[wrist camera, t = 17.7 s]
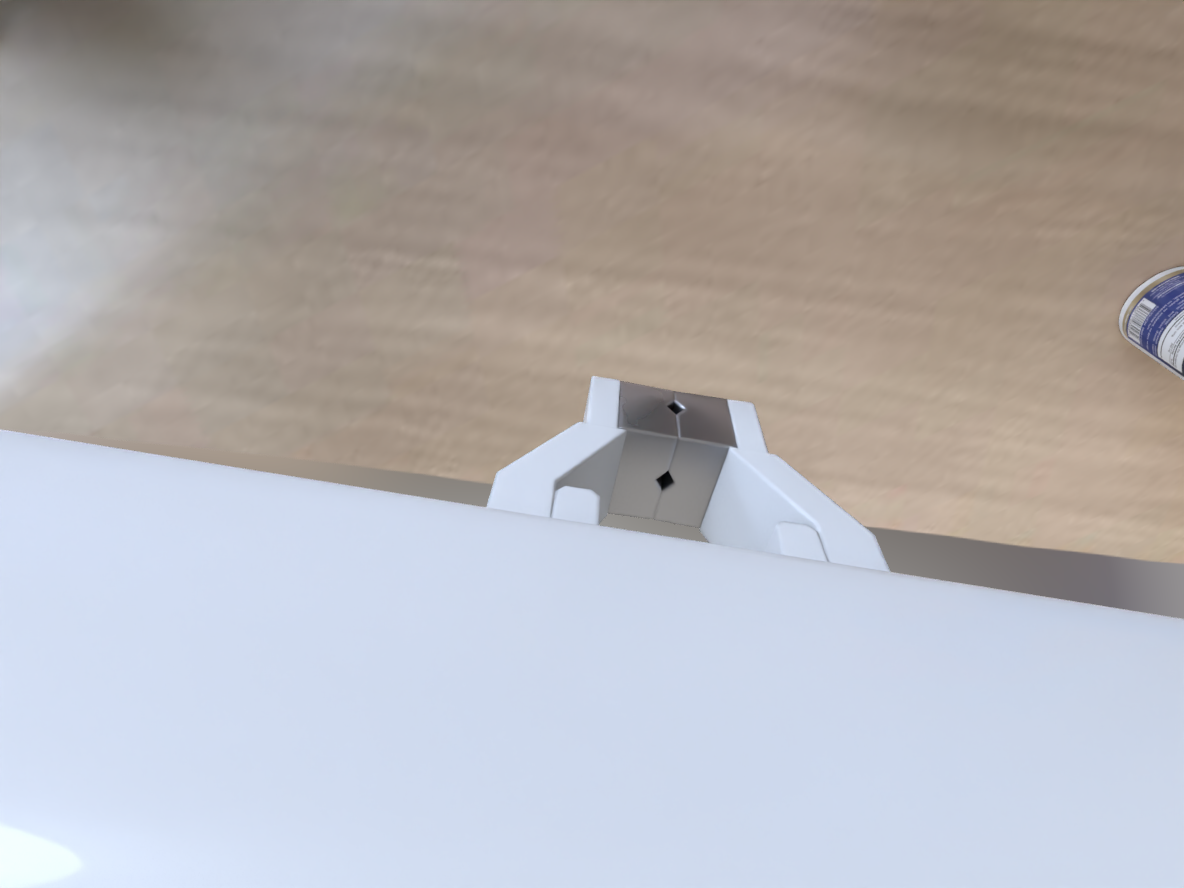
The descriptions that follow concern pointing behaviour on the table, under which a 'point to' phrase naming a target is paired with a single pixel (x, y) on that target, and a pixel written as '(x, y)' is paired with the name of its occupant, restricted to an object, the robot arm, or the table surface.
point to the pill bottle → (1158, 319)
